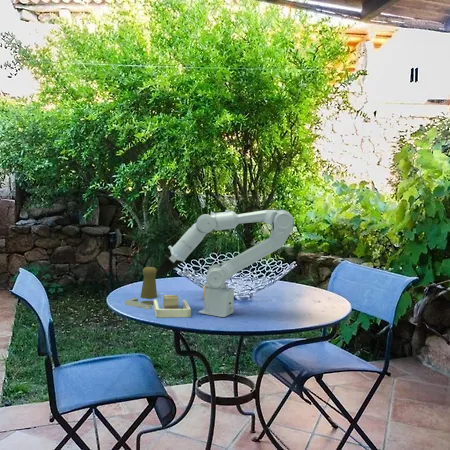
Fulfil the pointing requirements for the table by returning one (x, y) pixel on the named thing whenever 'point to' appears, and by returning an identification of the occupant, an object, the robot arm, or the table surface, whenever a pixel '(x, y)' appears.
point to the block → (170, 302)
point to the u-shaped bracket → (172, 311)
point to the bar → (137, 303)
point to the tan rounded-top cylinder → (203, 291)
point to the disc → (148, 302)
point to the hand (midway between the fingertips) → (160, 274)
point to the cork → (149, 283)
